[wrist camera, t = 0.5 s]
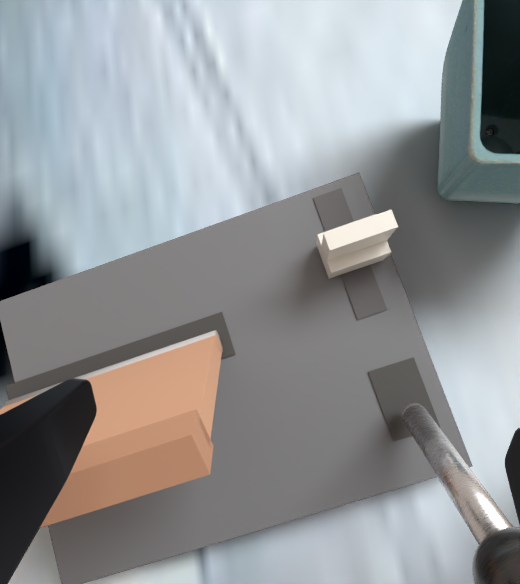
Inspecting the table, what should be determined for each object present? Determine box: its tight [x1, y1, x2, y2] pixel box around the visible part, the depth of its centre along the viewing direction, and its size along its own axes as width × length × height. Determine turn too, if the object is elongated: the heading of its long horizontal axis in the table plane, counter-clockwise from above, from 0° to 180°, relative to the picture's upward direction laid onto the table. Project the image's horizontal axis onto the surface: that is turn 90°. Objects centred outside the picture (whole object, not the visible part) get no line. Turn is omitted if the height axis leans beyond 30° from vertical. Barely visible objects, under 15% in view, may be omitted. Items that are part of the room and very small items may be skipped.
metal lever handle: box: [402, 403, 520, 584], centre depth 15 cm, size 3×3×10 cm
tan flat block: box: [0, 330, 223, 528], centre depth 18 cm, size 2×12×9 cm, turn 108°
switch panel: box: [0, 173, 472, 584], centre depth 23 cm, size 16×22×3 cm
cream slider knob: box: [316, 210, 398, 279], centre depth 19 cm, size 2×3×4 cm, turn 108°
